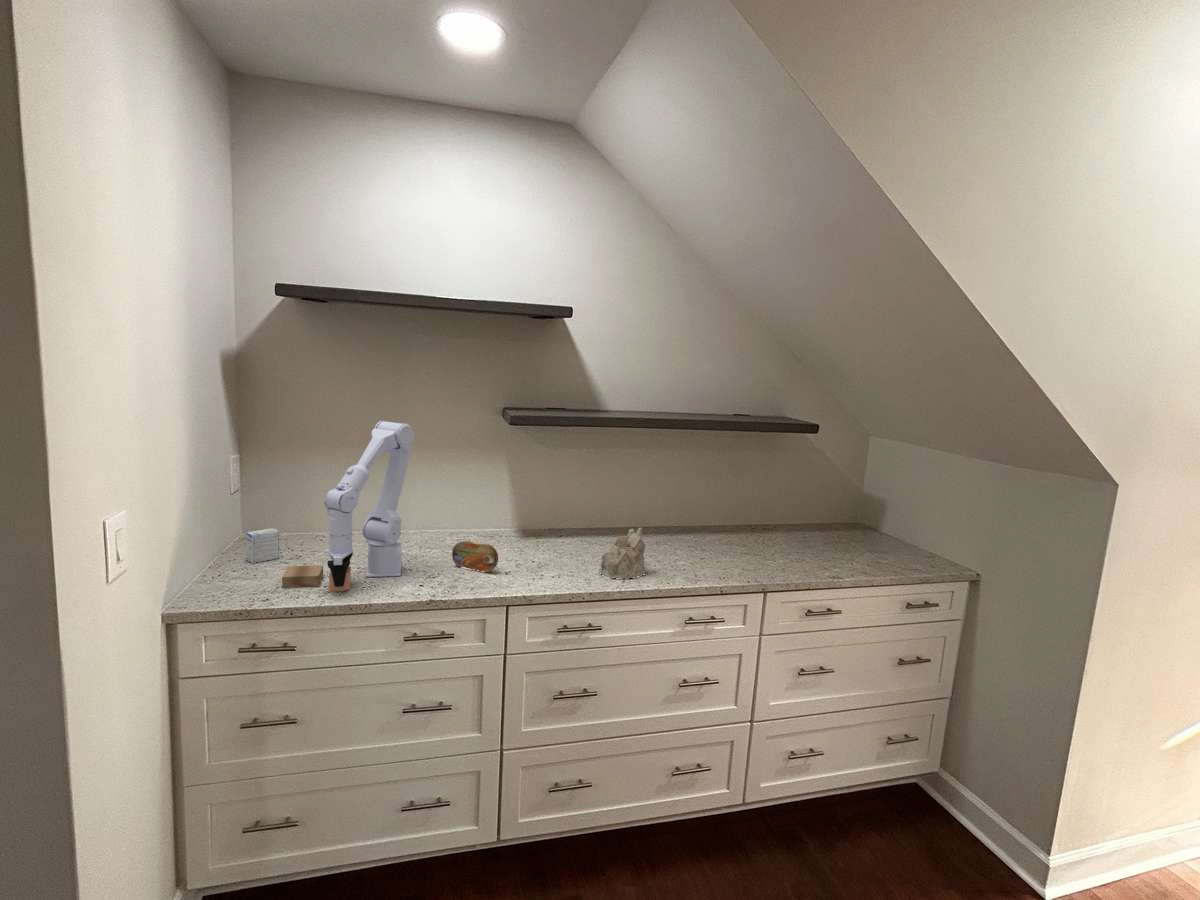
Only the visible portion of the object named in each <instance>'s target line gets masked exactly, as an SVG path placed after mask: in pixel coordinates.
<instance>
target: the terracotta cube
mask: <svg viewBox="0 0 1200 900" xmlns="http://www.w3.org/2000/svg"><path fill="white" fill-rule="evenodd" d="M328 574H329V575H328V578H329V580H328V581H329V582H328V584H329V586H328V589H329V590H328V591H329V592H345V590H349V591H350V590H351V586H352V566H349V567H348V569H347V572H346V577H345V582H344V586H343V587H335V585H334V581H333V576H332V573H331V570H330V569H329V573H328Z"/></svg>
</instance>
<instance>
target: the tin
mask: <svg viewBox="0 0 1200 900" xmlns="http://www.w3.org/2000/svg"><path fill="white" fill-rule="evenodd" d="M451 557H452V560H453V563H454V564H455V566H457V567H458V566H459V567H466V568H470V569H475V570H479V571H484V572H486V573H489V572H491V571H493V570H494V569H495V568H496V567H497V566H498V562H499V553H498V552H497V549H496V548H495V547H494V546H492V545H491V544H488V543H482V542H476V541H471V540H470V541H469V540H466V541H465V540H464V541H460V542H458V543H456V544H455V545H454V546H453V549H452V553H451ZM459 567H458V568H459Z"/></svg>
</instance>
